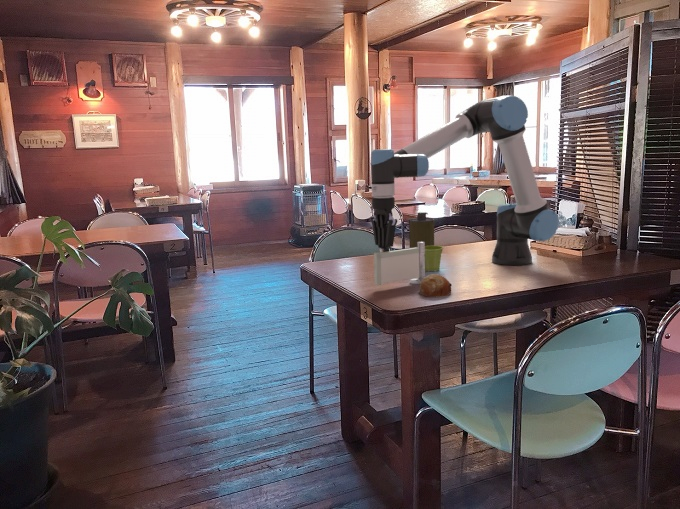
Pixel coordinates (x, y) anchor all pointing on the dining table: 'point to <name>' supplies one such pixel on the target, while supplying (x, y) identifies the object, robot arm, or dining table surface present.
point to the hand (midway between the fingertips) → (384, 266)
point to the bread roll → (435, 286)
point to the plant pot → (432, 257)
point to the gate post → (420, 264)
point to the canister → (421, 230)
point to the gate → (396, 265)
